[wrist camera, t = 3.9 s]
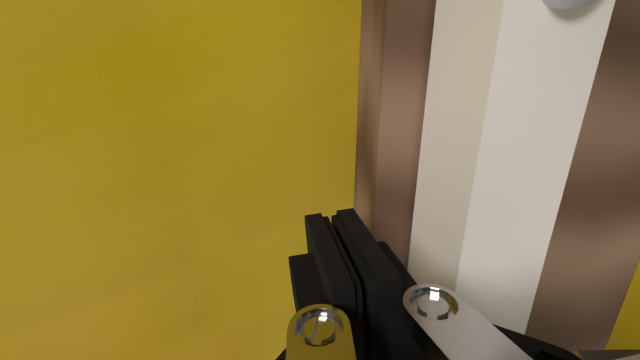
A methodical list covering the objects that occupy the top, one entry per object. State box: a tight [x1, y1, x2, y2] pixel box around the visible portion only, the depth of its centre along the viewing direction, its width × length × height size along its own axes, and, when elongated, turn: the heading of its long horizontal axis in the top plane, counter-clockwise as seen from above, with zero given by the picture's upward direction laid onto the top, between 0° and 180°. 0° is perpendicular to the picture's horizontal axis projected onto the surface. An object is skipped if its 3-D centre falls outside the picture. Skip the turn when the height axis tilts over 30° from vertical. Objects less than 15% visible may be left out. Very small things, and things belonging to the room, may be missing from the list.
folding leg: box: [407, 0, 615, 334], centre depth 10 cm, size 12×3×3 cm, turn 0°
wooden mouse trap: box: [354, 0, 640, 354], centre depth 13 cm, size 24×14×6 cm, turn 0°
